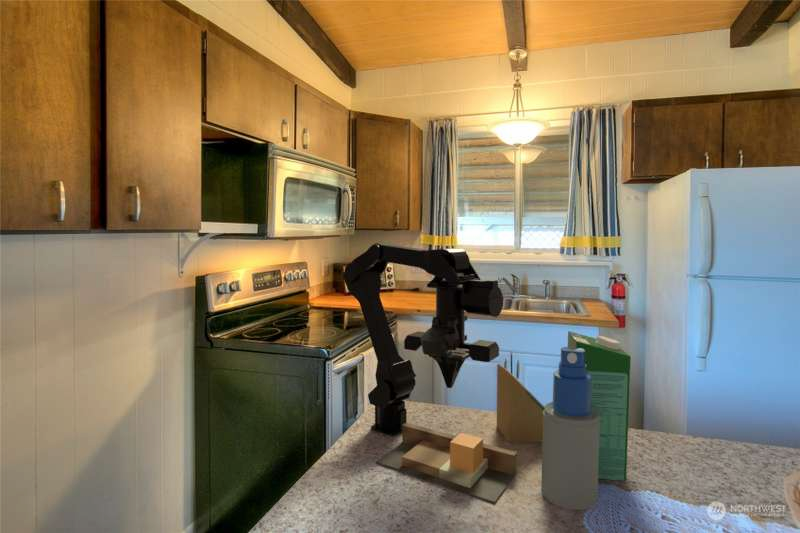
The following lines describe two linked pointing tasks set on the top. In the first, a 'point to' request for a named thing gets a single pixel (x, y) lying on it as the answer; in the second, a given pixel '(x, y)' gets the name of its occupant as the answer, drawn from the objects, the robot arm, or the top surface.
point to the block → (466, 452)
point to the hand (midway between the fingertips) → (449, 387)
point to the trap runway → (431, 461)
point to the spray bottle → (571, 436)
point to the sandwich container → (517, 410)
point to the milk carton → (608, 399)
